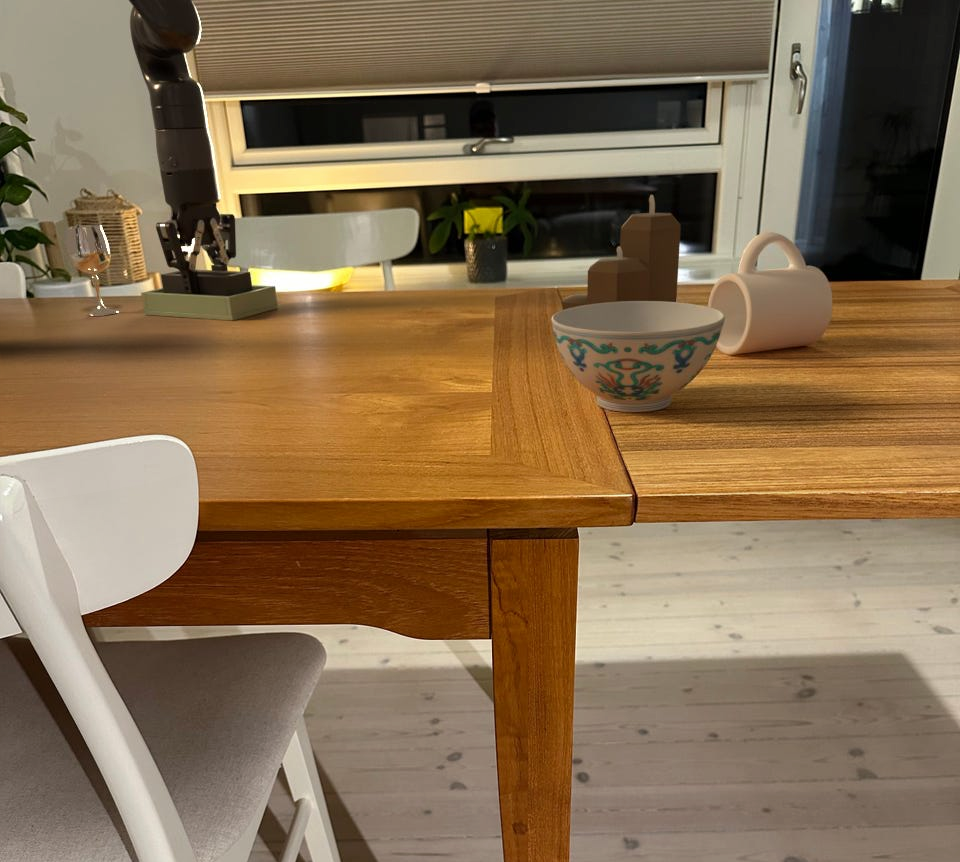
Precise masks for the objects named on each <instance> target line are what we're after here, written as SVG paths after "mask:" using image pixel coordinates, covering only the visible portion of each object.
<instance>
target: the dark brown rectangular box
mask: <svg viewBox="0 0 960 862" xmlns="http://www.w3.org/2000/svg"><path fill="white" fill-rule="evenodd" d="M194 271H197V274H198V282H199V288H200V294H201V295H213V296H232V295H237V294H241V293H245V292H249V291H253V289H252V285H253V281H252V273H251V271H239V270H236V271H235V270H228V271H217V270H212V269H195V270H194ZM160 278H161V285H162V288H163V290H164V293H174V294H185V293H184V289H183V283H182V277H181V272H180V271H179V270H177V271H172V272H167V273H161V274H160Z"/></svg>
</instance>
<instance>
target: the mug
mask: <svg viewBox="0 0 960 862" xmlns="http://www.w3.org/2000/svg"><path fill="white" fill-rule="evenodd" d="M770 244H776V245H777V246H778V247H779V248H780V249H781V250H782V252H783V253H784V255H785V256H786V259H787V260H788V263H789V265H788V267H784V268H783V267H782V268H781V267H780V268H771V269H761V270H755V267H756V264H757V261H758V258H759V256H760V255H761V253H762V252H763V250H764V249H765V248H766V247H767V246H768V245H770ZM805 261H806V260H805V259H804V256H803V255H802V252H801V251H800V249H799V248H798V247H797V246H796V245H795V243H794V242H793V241H792V240H790V239H789V238H788V237H786V236H785V235H783V234H780V233H778V232H773V231H766V232H761V233H759V234H757V235H755V236H754V237H753V238H752V239H751V240H750V241H749V242H748V244H747V245H746V247H745V248H744V250H743V253H742V255H741V259H740V262H739V265H738V271H737V272H731V273H730V272H729V273H726V274H724V275H722V276H721V277H720V278H718V280H717V281H716V282H715V283H714V285H713V287H712V289H711V291H710V294H709V298H708V302H707V307H711V308H714V309H717V310H719V311H721V312H722V313H723V314H724V315H725V319H724V324H723V327H722V331H721V334H720V337H719V340H718V342H717V345H716V347H715V348H716V349H717V350H718V351H720V352H721V353H723V354H724V355H728V356H733V355H734V356H735V355H742V354H750V353H757V352H765V351H774V350H781V349H782V350H783V349H789V348H796V347H797V348H798V347H804V346H811V345H813V344H815V343H817V342H818V341H819V340H820V339H822V337H823V336H824V335H825V333H826V331H827V329H828V327H829V326H830V323H831V318H832V315H833V305H834V303H833V300H834V299H833V292H832V289H831V288H832V287H831V285H830V282H829V280H828V278H827V276H826V275H825V273H824V272H823V271H822V270H821V269H820V268H819V267H816V266H812V265H806V262H805Z"/></svg>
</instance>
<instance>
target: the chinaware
mask: <svg viewBox="0 0 960 862" xmlns="http://www.w3.org/2000/svg"><path fill="white" fill-rule="evenodd" d="M724 319H725V315H724V314H723V313H722V312H721V311H719V310H717V309H714V308H711V307H708V305H701V304H696V303H687V302H679V301H676V302H663V301H626V302H609V303H598V304H590V305H583V306H578V307H573V308H569V309H565V310H560V311H558V312H555V313H554V314H553V315H552V316H551V326H552V331H553V337H554V339H555V343H556V345H557V349H558V351H559V355H560V356H561V358H562V361H563V362H564V364H565V366H566V367H567V369H568V371H569V372H570V373H571V375H572V376H573V377H574V378H575V379H576V381H578V382H579V383H580V384H581V385H582V387H585V388H586V389H587V391H590V392H591V393H593V394H594V395H596V404H597V405H598V406H599V407H600V408H602V409H605V410H608V411H614V412H619V413H645V412H646V413H647V412H656V411H659V410H663V409H665V408H668V407H669V406H670V405H671V404H672V396H673V395H675V394H676V393H678V392H680V391H681V390H682V389H684V388H685V387H687V386H688V385H689V384H690V383H691V382H692V381H693V380H694V379H695V378H696V377H697V376H698V375H700V373H701V372H702V370H703V369H704V368H705V366H706V365H707V364H708V362H709V360H710V359H711V357H712V355H713V353H714V351H715V349H716V348H717V347H716V345H717V342H718V340H719V337H720V334H721V331H722V327H723V324H724Z"/></svg>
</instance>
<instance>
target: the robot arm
mask: <svg viewBox="0 0 960 862" xmlns="http://www.w3.org/2000/svg"><path fill="white" fill-rule="evenodd" d="M128 1H129V3H130V4H131V5H132V8H131V11H130V15H129V29H130V37H131V42H132V43H131V44H132V47H133V50H134V53H135V56H136V59H137V62H138V65H139V69H140V72H141V76H142V78H143V81H144V83H145V85H146V88H147V91H148V94H149V103H150V109H151V114H152V120H153V125H154V132H155V133H154V134H155V149H156V154H157V161H158V166H159V173H160V178H161V184H162V189H163V195H164V201H165V203H166V205H168V206H170V210H171V213H170V219H169V220H167V221H162V222H157V223H155V230H156V232H157V236H158V240H159V243H160V245H161V249H162V252H163V255H164V259H165V262H166V265H167V267H168V268H171V269H172V268H174V269H176V270H177V271H180V272H181V277H182V283H183V289H184V293H185V294H193V295H201V294H200V288H199V282H198V274H197V271H194V270H196V267H197V260H198V259H197V257H198V256H199V255H200V253H201V248H202V249H203V251H205V252H206V254H207V256H208V258H209V260H210V262H211V264H212V265H211V264H210V267H211V270H217V271H229V270H228V264H229V261H231V259H235V258H236V257H237V240H236V237H237V236H236V217H235V215H234V214H232V213H221V212H220V211H219V209H218V206H217V204H218V203H219V202H220V201H221V192H220V186H219V178H218V172H217V171H218V170H217V165H216V158H215V151H214V145H213V142H212V138H211V135H210V130H209V123H208V117H207V111H206V110H207V109H206V103H205V99H204V94H203V89H202V87H201V85H200V83H199V82H197V81H196V80H195V79H193V77H192V76H191V72H190V69H189V65H188V61H187V58H186V54H188V53H190V52H192V51H193V50H194V49H195V48H196V47H197V46H198V44H199V42H200V39H201V36H202V35H201V34H202V33H201V32H202V26H201V20H200V17H199V14H198V10H197V8H196V6H195V4H194V2H193V1H192V0H128ZM226 241H227V244H226ZM226 245H227V246H226Z"/></svg>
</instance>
